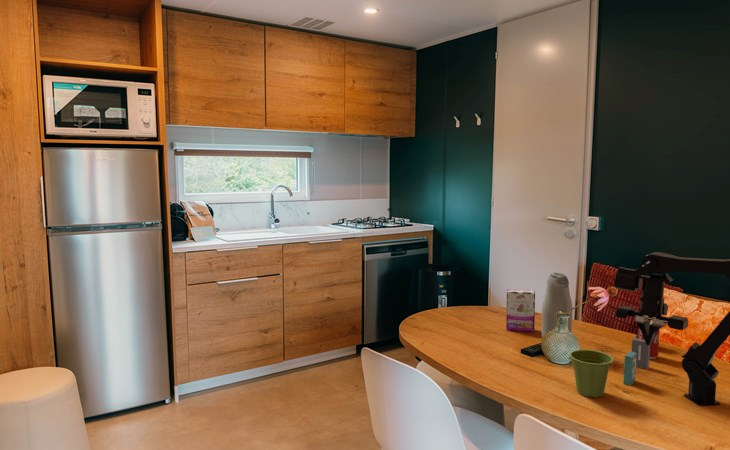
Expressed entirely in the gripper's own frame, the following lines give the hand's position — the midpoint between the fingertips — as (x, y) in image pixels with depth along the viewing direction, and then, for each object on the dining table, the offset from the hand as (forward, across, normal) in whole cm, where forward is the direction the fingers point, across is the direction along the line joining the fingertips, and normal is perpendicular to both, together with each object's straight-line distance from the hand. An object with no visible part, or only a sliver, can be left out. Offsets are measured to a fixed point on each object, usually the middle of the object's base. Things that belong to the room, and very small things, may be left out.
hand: (648, 345), depth 157 cm
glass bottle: (+13, +35, -13) cm, 40 cm away
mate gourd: (+12, +12, -38) cm, 42 cm away
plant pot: (+14, +10, +16) cm, 24 cm away
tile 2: (+13, +4, 0) cm, 14 cm away
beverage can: (+12, +8, -27) cm, 31 cm away
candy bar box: (+13, +55, -23) cm, 61 cm away
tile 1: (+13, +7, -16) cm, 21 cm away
